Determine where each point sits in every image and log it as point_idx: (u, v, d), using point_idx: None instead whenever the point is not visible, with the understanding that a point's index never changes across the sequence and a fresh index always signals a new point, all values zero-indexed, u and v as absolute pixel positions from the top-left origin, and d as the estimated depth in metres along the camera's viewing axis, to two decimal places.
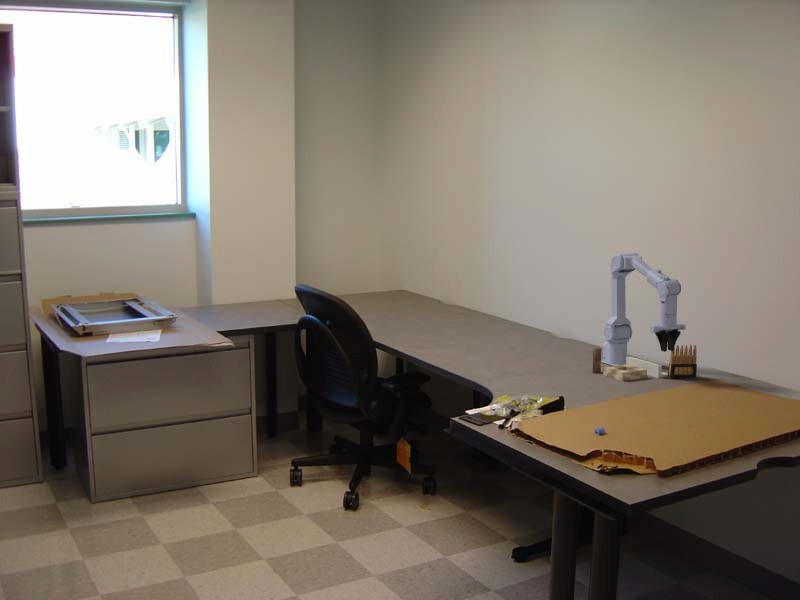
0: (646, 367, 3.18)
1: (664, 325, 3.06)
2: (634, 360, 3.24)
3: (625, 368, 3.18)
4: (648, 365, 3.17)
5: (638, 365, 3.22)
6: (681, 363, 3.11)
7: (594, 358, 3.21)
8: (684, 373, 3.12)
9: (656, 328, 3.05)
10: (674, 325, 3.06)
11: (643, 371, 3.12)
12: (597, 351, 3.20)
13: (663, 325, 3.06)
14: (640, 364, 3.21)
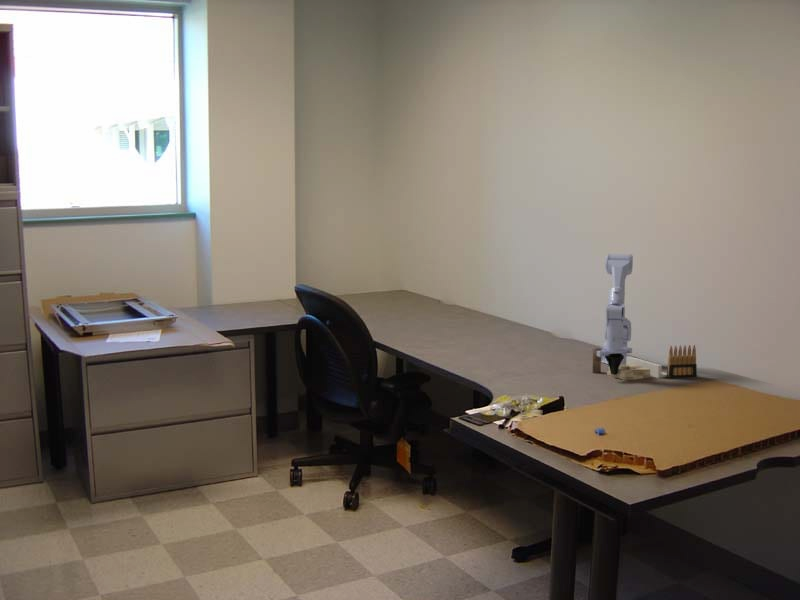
0: (646, 367, 3.18)
1: (610, 349, 3.10)
2: (634, 360, 3.24)
3: (628, 368, 3.19)
4: (648, 365, 3.17)
5: (638, 365, 3.22)
6: (680, 364, 3.12)
7: (594, 358, 3.21)
8: (683, 373, 3.12)
9: (602, 352, 3.09)
10: (620, 349, 3.10)
11: (646, 371, 3.13)
12: None
13: (609, 349, 3.10)
14: (640, 364, 3.21)
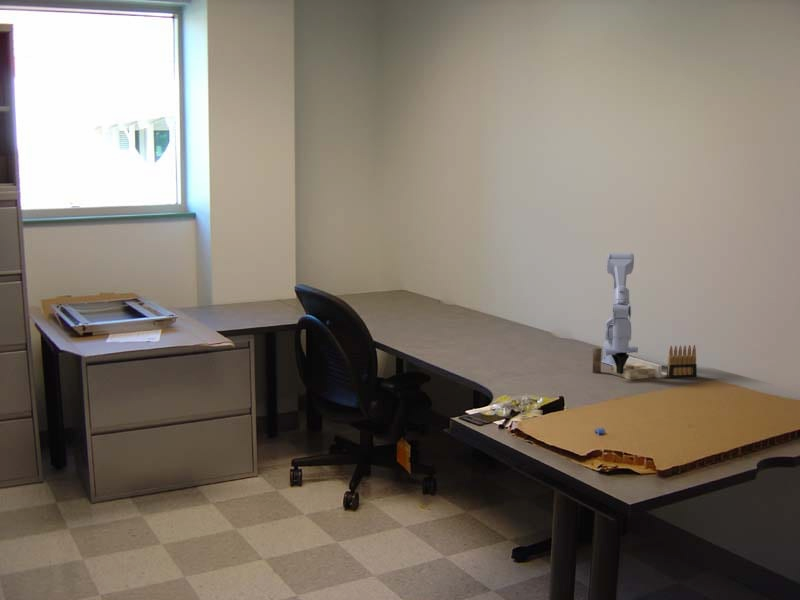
0: None
1: (616, 348, 3.11)
2: (634, 360, 3.24)
3: (633, 367, 3.20)
4: (648, 365, 3.17)
5: None
6: (680, 364, 3.12)
7: (594, 358, 3.21)
8: (683, 373, 3.12)
9: (608, 351, 3.10)
10: (626, 348, 3.11)
11: (650, 370, 3.13)
12: (597, 351, 3.20)
13: (615, 348, 3.12)
14: (640, 364, 3.21)
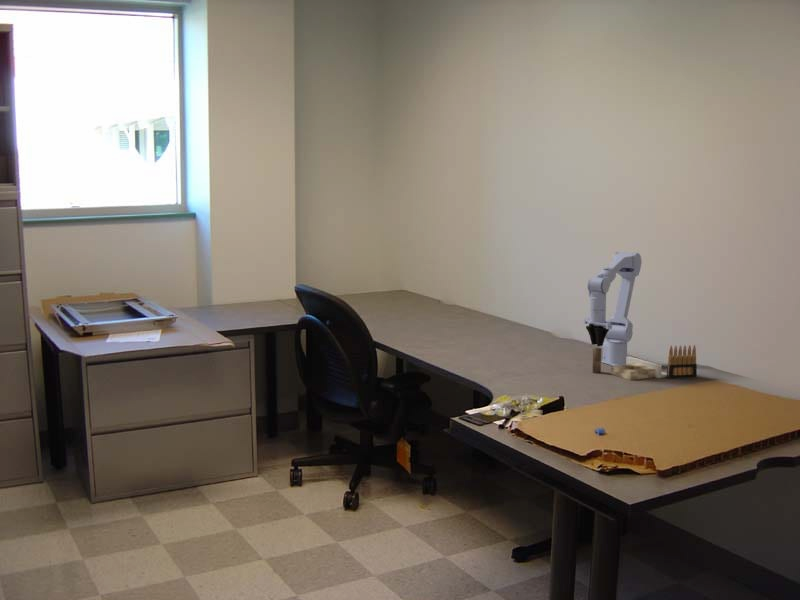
0: None
1: None
2: (634, 360, 3.24)
3: (633, 367, 3.20)
4: (648, 365, 3.17)
5: None
6: (680, 364, 3.12)
7: (594, 358, 3.21)
8: (683, 373, 3.12)
9: (585, 319, 3.25)
10: (592, 320, 3.18)
11: (650, 370, 3.13)
12: (597, 351, 3.20)
13: None
14: (640, 364, 3.21)
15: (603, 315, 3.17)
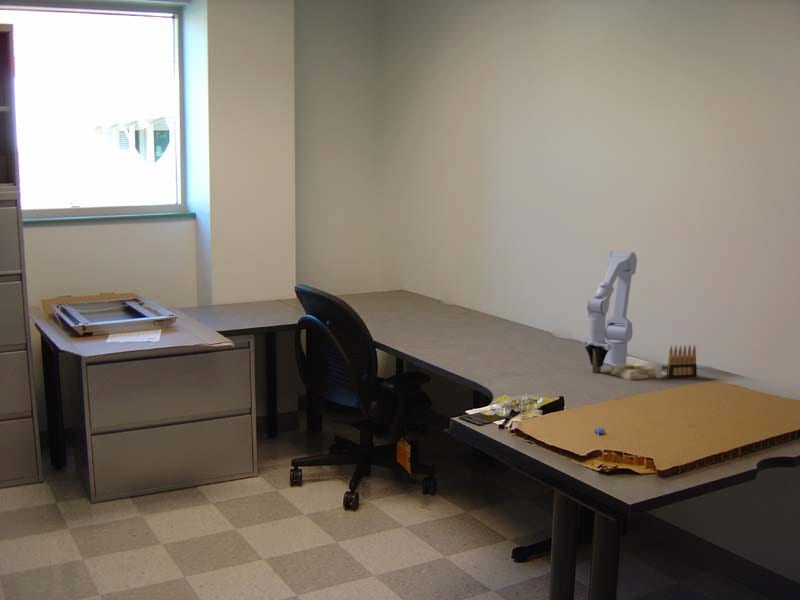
0: None
1: None
2: (634, 360, 3.24)
3: (633, 367, 3.20)
4: (648, 365, 3.17)
5: None
6: (680, 364, 3.12)
7: (594, 358, 3.21)
8: (683, 373, 3.12)
9: (584, 340, 3.26)
10: (591, 341, 3.19)
11: (650, 370, 3.13)
12: None
13: None
14: (640, 364, 3.21)
15: (603, 336, 3.18)
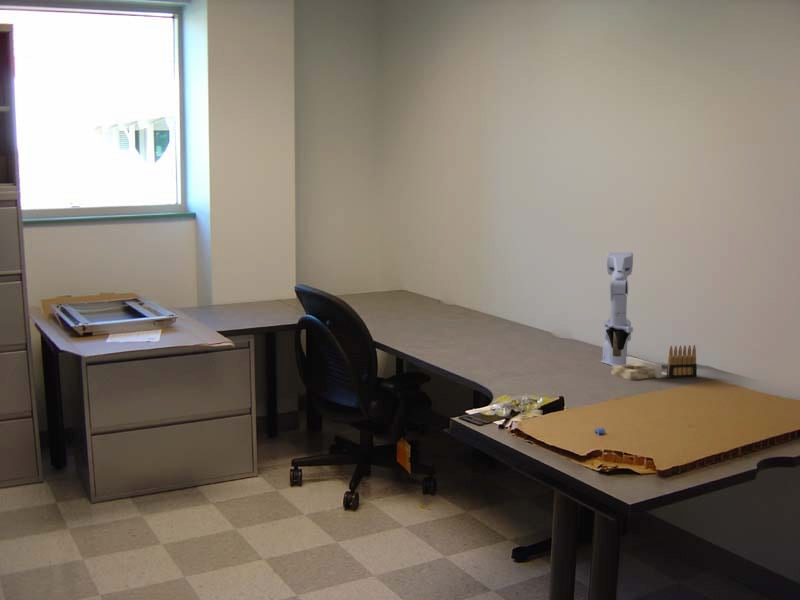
0: None
1: None
2: (634, 360, 3.24)
3: (633, 367, 3.20)
4: (648, 365, 3.17)
5: None
6: (680, 364, 3.12)
7: (614, 341, 3.17)
8: (683, 373, 3.12)
9: (605, 323, 3.22)
10: (612, 323, 3.15)
11: (650, 370, 3.13)
12: None
13: None
14: (640, 364, 3.21)
15: (624, 318, 3.14)
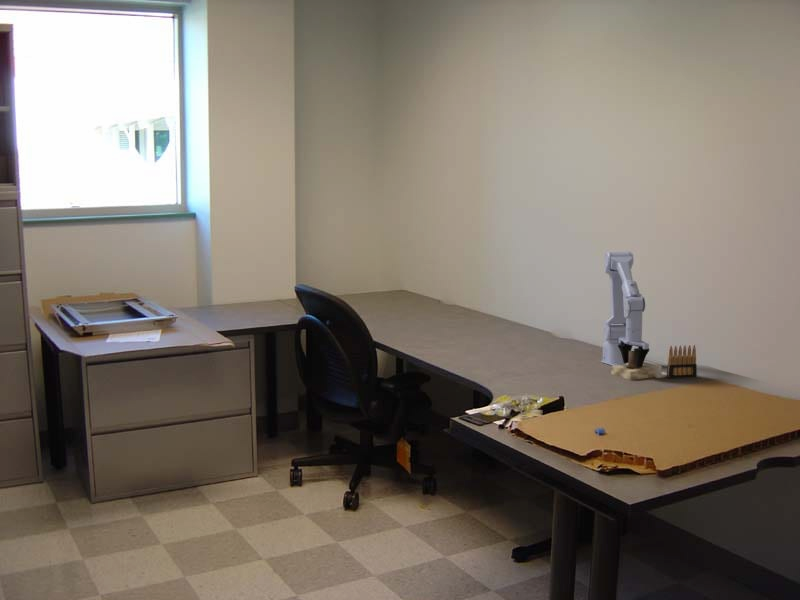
0: None
1: None
2: None
3: None
4: (648, 365, 3.17)
5: None
6: (680, 364, 3.12)
7: (630, 361, 3.16)
8: (683, 373, 3.12)
9: (620, 339, 3.21)
10: (628, 340, 3.14)
11: (650, 370, 3.13)
12: (633, 354, 3.15)
13: None
14: None
15: (639, 335, 3.13)
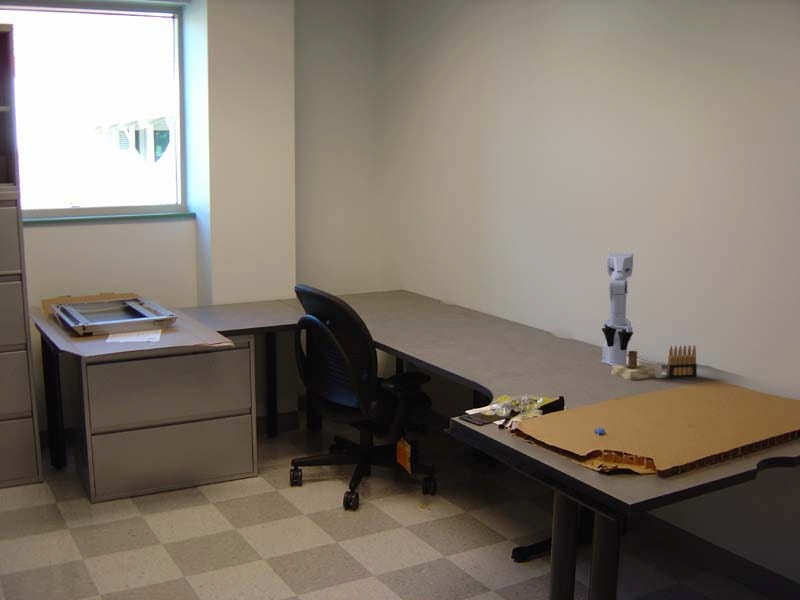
0: None
1: None
2: None
3: None
4: (648, 365, 3.17)
5: None
6: (680, 364, 3.12)
7: (630, 361, 3.16)
8: (683, 373, 3.12)
9: (604, 322, 3.24)
10: (612, 323, 3.17)
11: (650, 370, 3.13)
12: (633, 354, 3.15)
13: None
14: (640, 364, 3.21)
15: (623, 318, 3.16)
